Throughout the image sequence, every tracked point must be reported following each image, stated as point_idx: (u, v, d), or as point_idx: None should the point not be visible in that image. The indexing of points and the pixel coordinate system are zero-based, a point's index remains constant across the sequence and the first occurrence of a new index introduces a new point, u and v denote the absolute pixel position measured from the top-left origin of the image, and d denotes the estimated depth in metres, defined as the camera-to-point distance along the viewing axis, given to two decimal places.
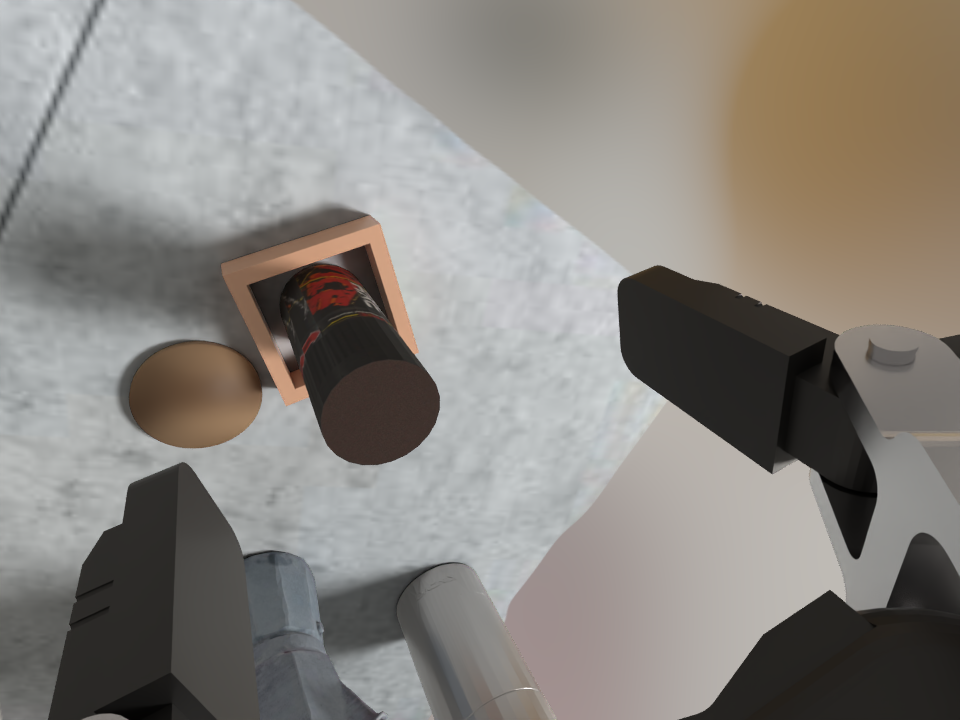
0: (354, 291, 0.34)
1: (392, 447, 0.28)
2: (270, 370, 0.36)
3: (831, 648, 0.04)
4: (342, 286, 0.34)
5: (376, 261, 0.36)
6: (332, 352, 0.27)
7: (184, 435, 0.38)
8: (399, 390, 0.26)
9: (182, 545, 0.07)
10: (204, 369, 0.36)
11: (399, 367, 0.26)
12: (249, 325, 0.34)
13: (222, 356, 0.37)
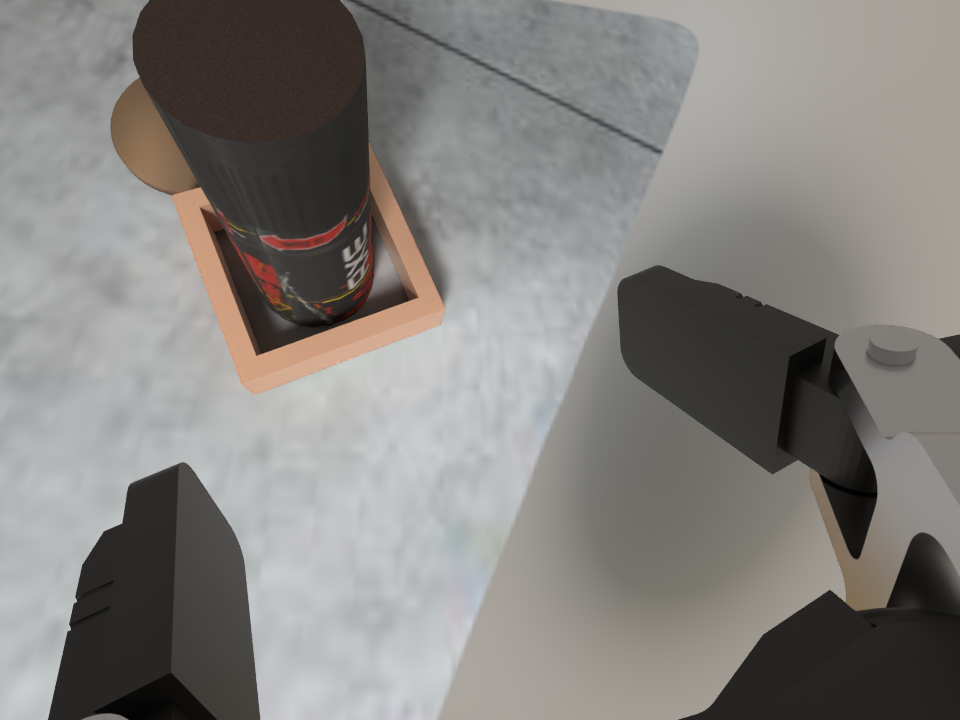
0: (369, 242, 0.24)
1: (169, 61, 0.14)
2: None
3: (832, 649, 0.04)
4: (371, 238, 0.25)
5: (393, 307, 0.27)
6: None
7: (137, 104, 0.29)
8: (300, 73, 0.15)
9: (182, 545, 0.07)
10: None
11: (348, 74, 0.15)
12: None
13: None
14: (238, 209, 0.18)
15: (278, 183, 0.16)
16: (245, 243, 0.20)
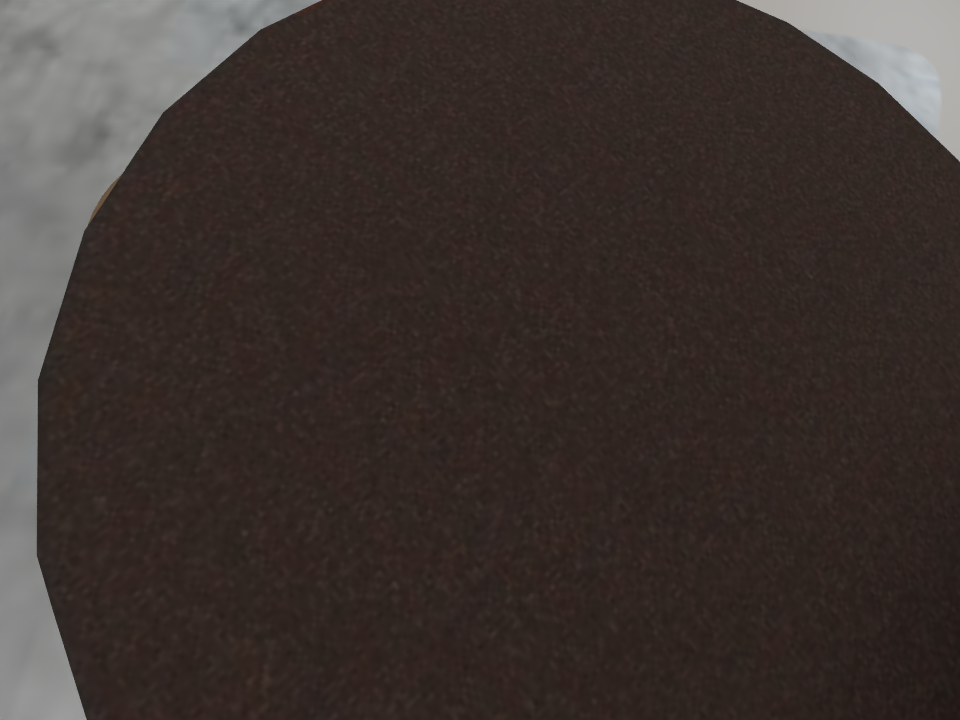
0: None
1: (252, 527, 0.02)
2: None
3: None
4: None
5: None
6: None
7: None
8: (876, 487, 0.03)
9: None
10: None
11: None
12: None
13: None
14: None
15: None
16: None
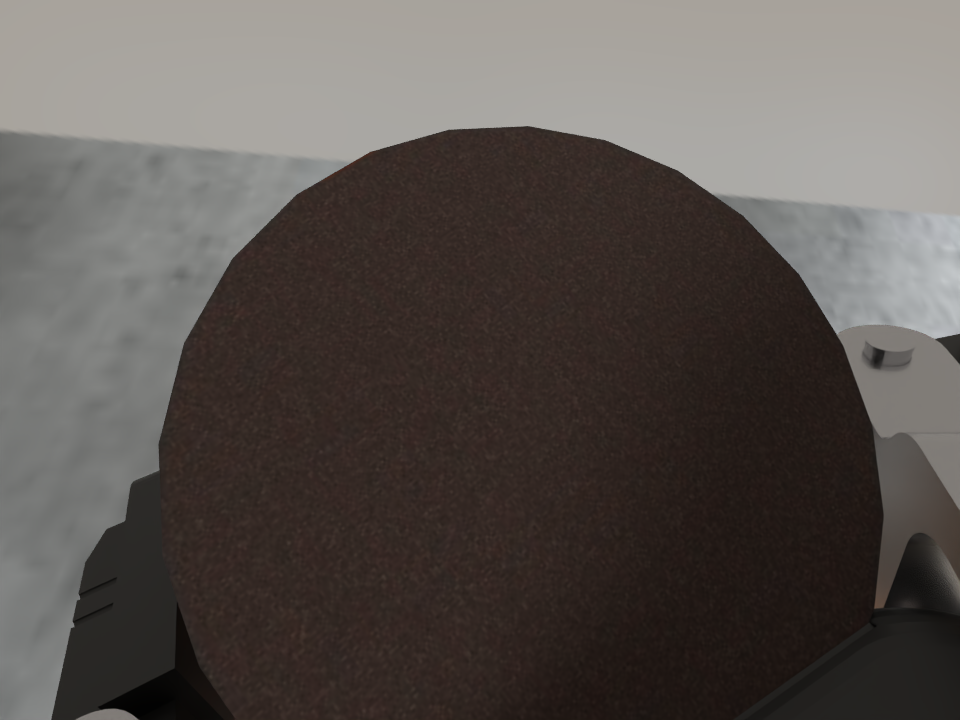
0: None
1: (294, 538, 0.04)
2: None
3: None
4: None
5: None
6: None
7: None
8: (712, 515, 0.04)
9: None
10: None
11: (843, 492, 0.05)
12: None
13: None
14: None
15: None
16: None
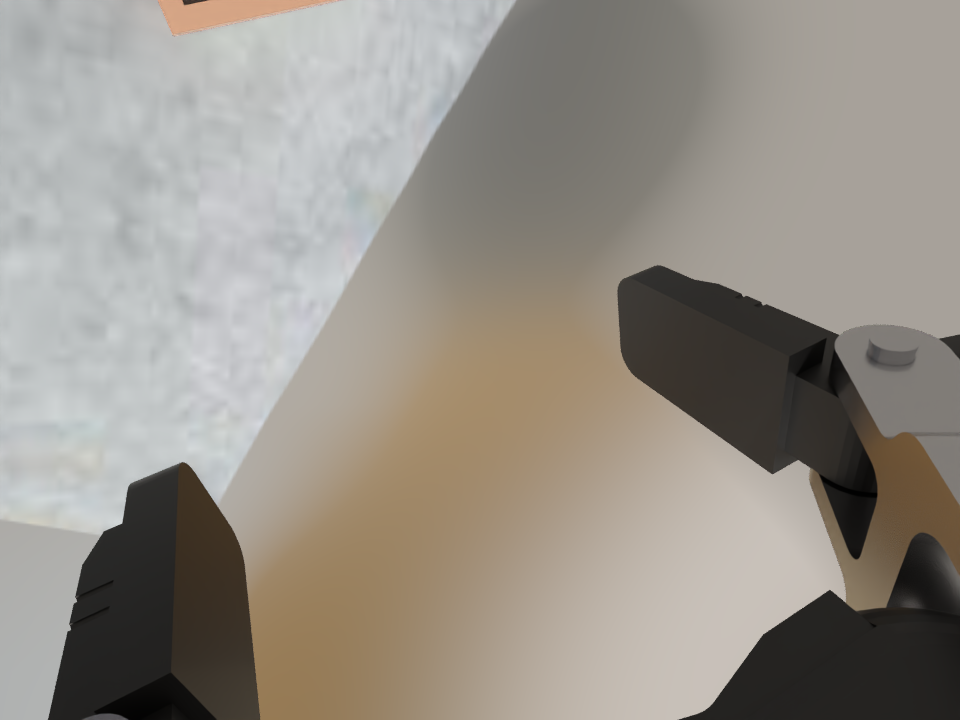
0: None
1: None
2: None
3: (832, 649, 0.04)
4: None
5: None
6: None
7: None
8: None
9: (182, 545, 0.07)
10: None
11: None
12: None
13: None
14: None
15: None
16: None
